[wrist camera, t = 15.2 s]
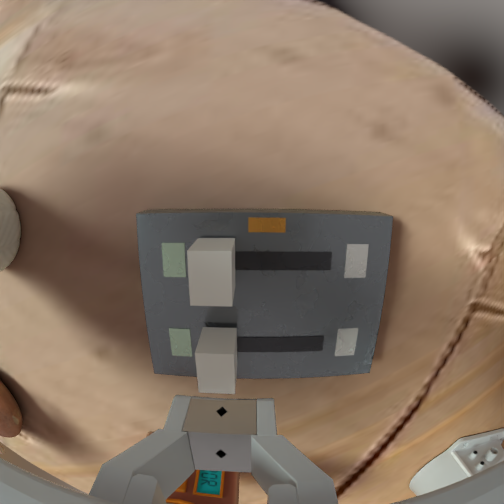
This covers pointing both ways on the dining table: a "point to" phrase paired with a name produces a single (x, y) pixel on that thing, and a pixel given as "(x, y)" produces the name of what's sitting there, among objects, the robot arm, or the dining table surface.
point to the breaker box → (270, 288)
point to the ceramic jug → (9, 415)
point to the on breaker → (217, 360)
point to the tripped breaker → (211, 272)
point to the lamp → (8, 230)
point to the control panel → (207, 488)
